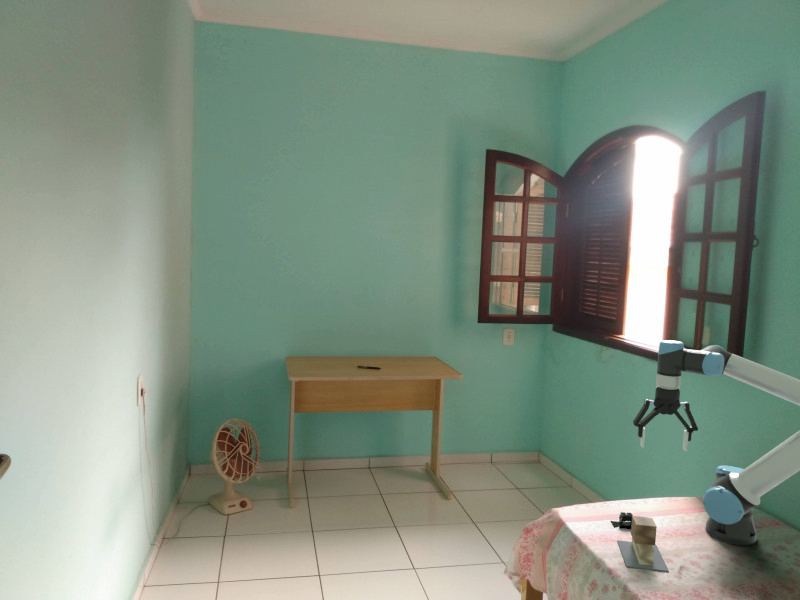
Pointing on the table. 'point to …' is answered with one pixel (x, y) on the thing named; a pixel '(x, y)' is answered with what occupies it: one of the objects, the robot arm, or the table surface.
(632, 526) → the walnut cube
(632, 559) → the mat
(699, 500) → the table surface
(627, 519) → the black plastic holder
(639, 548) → the plinth
